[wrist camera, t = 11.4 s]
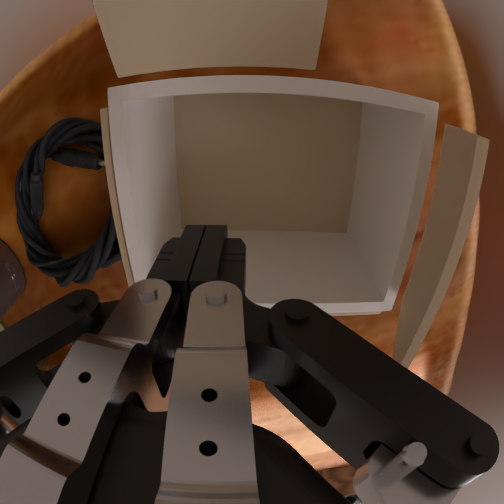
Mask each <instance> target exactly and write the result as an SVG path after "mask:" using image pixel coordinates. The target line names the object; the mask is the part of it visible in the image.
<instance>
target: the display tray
mask: <svg viewBox="0 0 504 504" xmlns="http://www.w3.org/2000/svg"><path fill="white" fill-rule="evenodd" d="M356 471H357V470H356V469H355V468H354V467H353V466H345V467H338V468H331V469H323V470H322V472H321V473H320V475H321V476H322V477H323V478H325V479H326V480H327V481H328V482H329V483H330V484H331V485H332V486H333V487H334V488H335V489H336V490H338V491H339V492H340V493H341V494H342V495H343V496H348V495H354V494H356V493H355V490H354V486H353V480H354V476H355V473H356ZM362 503H363V502H362Z"/></svg>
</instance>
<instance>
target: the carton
mask: <svg viewBox="0 0 504 504" xmlns="http://www.w3.org/2000/svg"><path fill="white" fill-rule="evenodd" d="M438 107H439V103H437V102H434V101H430V100H427V99H423V98H419V97H415V96H411V95H407V94H403V93H399V92H394V91H390V90H385V89H380V88H375V87H370V86H364V85H358V84H352V83H345V82H338V81H330V80H322V79H312V78H301V77H287V76H265V75H219V76H198V77H184V78H173V79H163V80H155V81H147V82H140V83H133V84H127V85H121V86H115V87H110V88H108V108H103V109H100V116H101V129H102V140H103V150H104V159H105V167H106V174H107V181H108V188H109V194H110V201H111V206H112V212H113V218H114V223H115V228H116V233H117V238H118V243H119V247H120V252H121V256H122V261H123V265H124V269H125V273H126V277H127V281H128V285H129V287H130V286H131V285H132V284H134V283H136V282H138V281H141V280H144V279H146V277H147V275H148V273H149V271H150V269H151V267H152V266H153V264H154V262H155V260H156V258H157V256H158V254H159V252H160V250H161V248H162V246H163V244H165V243H166V242H167V241H168V240H170V239H171V238H172V237H181V235H182V233H183V231H184V229H185V226H186V225H206V226H207V225H227V229H228V238H241V239H242V241H243V242H244V243H245V245H246V288H245V295H246V297H247V298H248V299H249V300H250V301H252V302H253V303H255V304H257V305H259V306H263V307H266V308H270V309H271V308H272V306H274V305H275V304H276V303H278V302H280V301H282V300H286V299H302V300H306V301H309V302H311V303H313V304H315V305H316V306H318V307H319V308H320V309H322V310H323V311H325V312H326V313H328V314H329V315H330V316H341V315H367V314H380V313H381V311H391V309H392V307H393V304H394V301H395V298H396V296H397V293H398V290H399V287H400V284H401V281H402V278H403V275H404V272H405V269H406V265H407V262H408V259H409V256H410V252H411V249H412V245H413V242H414V238H415V234H416V231H417V227H418V223H419V219H420V215H421V211H422V206H423V202H424V197H425V193H426V188H427V183H428V178H429V172H430V167H431V161H432V155H433V148H434V142H435V134H436V126H437V117H438Z"/></svg>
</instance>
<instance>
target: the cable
mask: <svg viewBox="0 0 504 504" xmlns="http://www.w3.org/2000/svg"><path fill="white" fill-rule="evenodd" d="M75 142H79V143H81V144H84V145H86V146H88V147H90V148H92V149H94V150H96V151H97V152H98V154H93V153H89V152H84V151H79V150H76V149H64V150H61V149H58V148H59V147H61V146H63V145H67V144H70V143H75ZM46 158H52V159H53V160H55V161H58V162H61V163H62V164H65V165H68V166H71V167H73V166H74V167H75V166H76V167H81V168H86V169H94V170H99V169H100V168H101V167H102V166H103V167H105V159H104V150H103V140H102V129H101V123H97V122H94V121H89V120H84V119H80V118H66V119H63V120H61V121H59V122H57V123H55V124H54V125H53V126H52V127H51V128H50V129H49V130H48V131H47V133H46V134H45V136H43V137H42V138H40V139H39V140H37V141H36V142H35V143H34V144H33V145H32V146H31V147H30V149H29V150H28V152H27V154H26V156H25V159H24V162H23V163H22V165H21V167H20V169H19V171H18V174H17V177H16V184H15V201H16V207H17V224H18V227H19V230H20V232H21V234H22V236H23V239H24V243H25V246H26V248H27V250H26V252H27V257H28V260H29V262H30V263H31V264H32V265H35V266H37V267H38V269H39V270H40V271H41V272H43V273H44V274H45V275H47V276H50V277H55V279H56V281H57V283H58V284H59V285H60V286H61V287H66V286H68V285H69V284H70V283H71V282H72V281H73V282H75V283H77V284H86V283H88V282H89V281H90V280H91V279H92V278H93V276H94V274H95V272H96V271H97V270H98V269H99V268H100V267H102V268H106V267H108V266H110V265H111V264H113V263H115V262H117V261H119V260H120V259H122V256H121V252H120V247H119V243H118V238H117V233H116V228H115V223H114V218H113V212H112V210H111V213H110V215H109V217H108V219H107V221H106V224H105V226H104V228H103V230H102V232H101V235H100V237H99V240H98V242H97V244H95V245H93V246H92V247H90V248H88V249H85V250H83V251H81V252H79V253H77V254H75V255H72V256H69V257H67V258H62V257H60V256H58V255H57V254H56V253H55V252H54V251H53V249H52V248H51V247H50V246H49V244H48V243H47V241H46V240H45V238H44V236H43V235H42V233H41V231H40V229H39V227H38V225H37V224H38V221H39V218H40V217H41V216H42V211H43V185H42V184H43V179H42V175H43V173H44V170H45V159H46ZM111 207H112V206H111ZM85 254H86V255H85ZM83 255H84V256H83Z"/></svg>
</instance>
